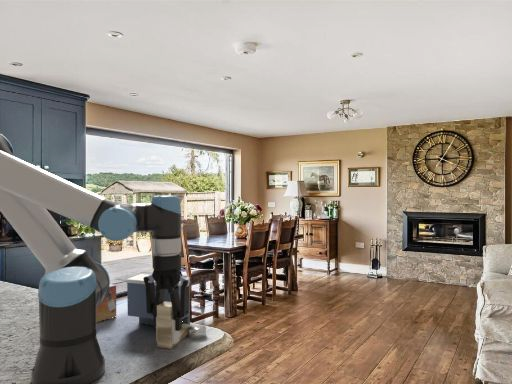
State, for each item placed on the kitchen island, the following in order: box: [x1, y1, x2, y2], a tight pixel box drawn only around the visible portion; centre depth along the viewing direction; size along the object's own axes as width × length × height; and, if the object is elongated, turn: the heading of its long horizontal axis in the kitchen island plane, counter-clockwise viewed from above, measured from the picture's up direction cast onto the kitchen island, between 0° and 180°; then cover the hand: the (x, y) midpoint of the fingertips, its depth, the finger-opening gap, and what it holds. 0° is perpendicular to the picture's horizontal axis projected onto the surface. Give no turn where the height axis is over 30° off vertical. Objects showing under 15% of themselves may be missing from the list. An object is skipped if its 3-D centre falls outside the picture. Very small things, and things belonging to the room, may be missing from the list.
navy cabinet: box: [125, 273, 191, 326], centre depth 122 cm, size 8×17×15 cm, turn 70°
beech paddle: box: [156, 301, 194, 350], centre depth 114 cm, size 13×4×11 cm, turn 161°
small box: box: [96, 283, 117, 324], centre depth 132 cm, size 8×6×10 cm
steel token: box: [187, 324, 207, 340], centre depth 117 cm, size 5×5×2 cm
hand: (167, 340), depth 110 cm, fingers closed on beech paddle, 4 cm apart
